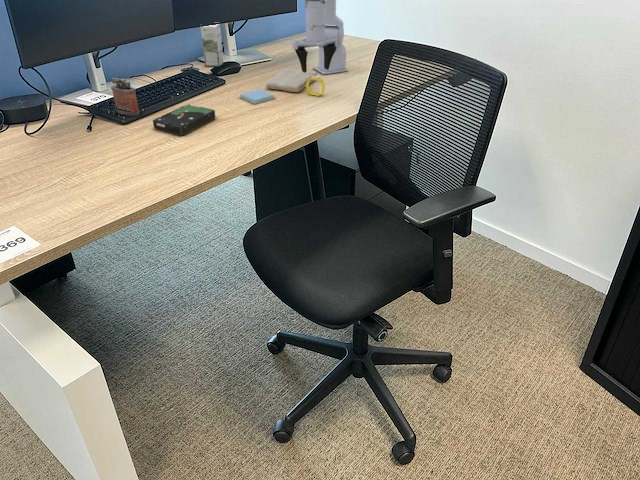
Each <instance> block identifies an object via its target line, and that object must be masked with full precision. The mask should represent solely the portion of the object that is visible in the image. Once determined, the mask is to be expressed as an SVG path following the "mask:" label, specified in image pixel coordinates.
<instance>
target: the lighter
mask: <svg viewBox="0 0 640 480" xmlns="http://www.w3.org/2000/svg"><path fill="white" fill-rule="evenodd" d="M111 83H112V85H111V86H110V89H111V92H112V96H113V100H114V105H115V113H117V114H120V115H124V116H129V117H130V116H133V117H136V116H140V114H141V112H140V109H139V105H138V104H139V103H138V100H137V95H136V92H137V90H136V88H135V87H133V86H131V81H130V80H127V79H126V78H124V77H123V78H122V79H121V78H117V77H112V78H111ZM113 84H114V85H113ZM116 107H117V108H119V109H122V110H126V111H130V112H126V111H121V110H118V109H116Z"/></svg>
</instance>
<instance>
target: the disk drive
mask: <svg viewBox="0 0 640 480" xmlns="http://www.w3.org/2000/svg"><path fill="white" fill-rule="evenodd" d="M215 118H216V110H215V109H213V108H212V109H211V108H207V107H205V106H204V107H203V106H195V105H191V104H186V105H183V106H180V107H179V108H176V109H174V110H172V111H170V112H167V113H166V114H163V115H161V116H158V117H157V118H154V119H153V120H152V124H153V128H154V129H156V130H159V131H162V132H167V133H171V134H174V135H179V136H184V135H186V134H188V133H189V132H192V131H194V130H195V129H197V128H200V127H201V126H203V125H205V124H208V123H209V122H211V121H213V120H215Z"/></svg>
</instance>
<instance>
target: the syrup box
mask: <svg viewBox="0 0 640 480" xmlns="http://www.w3.org/2000/svg"><path fill="white" fill-rule="evenodd" d="M220 24H221V23H220ZM220 24H216V25H209V26H203V27H201V26H200V35H201V41H202V42H201V43H202V50H203V51H202V52H203V59H204V66H205V67H216V68H217V67H218V68H219V67H221V66H222V65H223V64H224V56H223V47H222V34H221V25H220ZM220 65H221V66H220Z"/></svg>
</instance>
